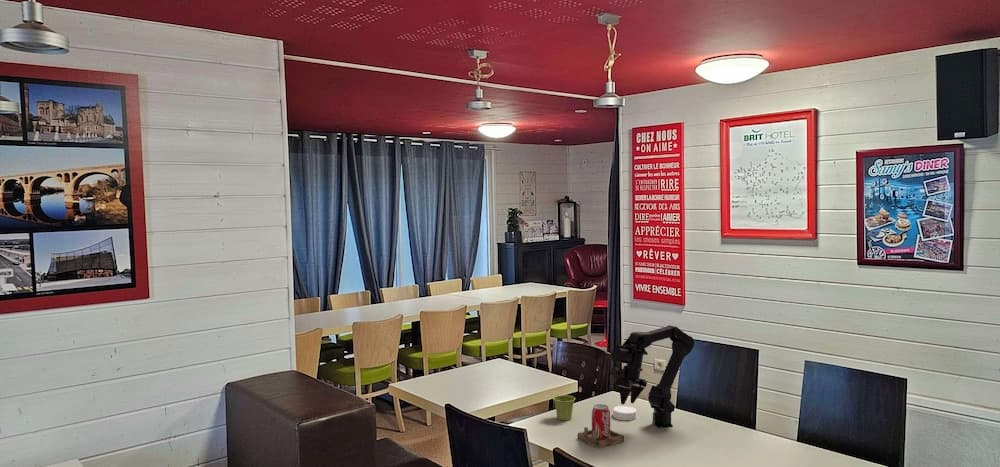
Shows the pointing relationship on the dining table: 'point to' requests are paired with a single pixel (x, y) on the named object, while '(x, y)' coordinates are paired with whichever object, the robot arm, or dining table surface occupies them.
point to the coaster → (624, 413)
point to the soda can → (601, 421)
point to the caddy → (597, 443)
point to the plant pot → (564, 406)
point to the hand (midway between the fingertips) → (627, 403)
